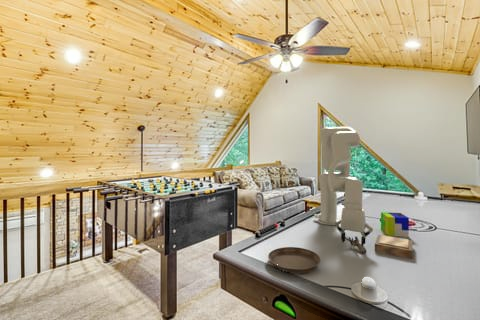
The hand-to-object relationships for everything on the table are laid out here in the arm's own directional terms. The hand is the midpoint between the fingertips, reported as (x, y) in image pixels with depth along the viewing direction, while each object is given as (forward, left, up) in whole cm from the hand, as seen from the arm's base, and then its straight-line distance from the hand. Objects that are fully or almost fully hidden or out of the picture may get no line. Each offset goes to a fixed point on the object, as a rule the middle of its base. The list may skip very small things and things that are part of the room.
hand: (353, 242), depth 115 cm
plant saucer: (-17, -30, -3) cm, 35 cm away
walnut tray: (+16, +8, -2) cm, 18 cm away
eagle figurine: (+1, -1, -3) cm, 3 cm away
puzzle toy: (+15, +34, -3) cm, 37 cm away
